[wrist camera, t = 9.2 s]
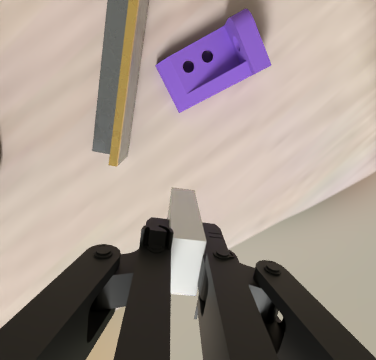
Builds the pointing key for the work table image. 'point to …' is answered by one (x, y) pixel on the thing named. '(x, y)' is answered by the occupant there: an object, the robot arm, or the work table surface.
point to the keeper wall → (119, 77)
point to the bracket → (215, 61)
